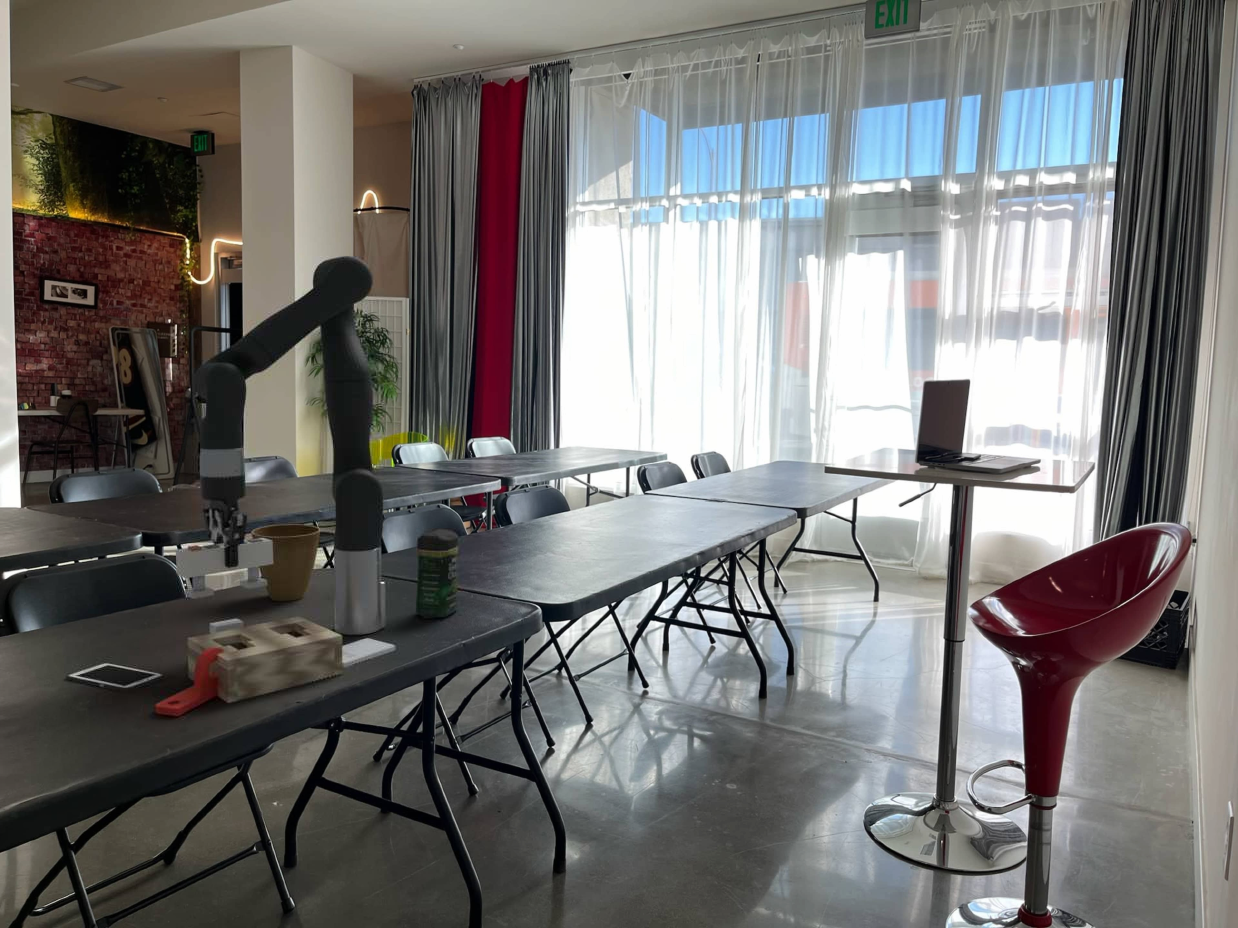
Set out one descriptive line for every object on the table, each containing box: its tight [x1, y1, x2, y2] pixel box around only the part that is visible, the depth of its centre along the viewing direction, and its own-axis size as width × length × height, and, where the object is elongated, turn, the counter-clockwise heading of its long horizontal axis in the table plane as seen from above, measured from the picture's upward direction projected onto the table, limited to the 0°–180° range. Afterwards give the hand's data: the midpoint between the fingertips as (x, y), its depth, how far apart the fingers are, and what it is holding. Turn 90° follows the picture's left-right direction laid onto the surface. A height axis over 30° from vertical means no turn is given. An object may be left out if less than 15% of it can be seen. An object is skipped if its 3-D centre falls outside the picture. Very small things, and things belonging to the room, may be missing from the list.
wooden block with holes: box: [187, 616, 343, 704], centre depth 153 cm, size 20×16×7 cm
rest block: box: [209, 618, 245, 634], centre depth 164 cm, size 5×3×6 cm, turn 137°
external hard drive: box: [342, 637, 396, 669], centre depth 166 cm, size 2×8×12 cm
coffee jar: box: [415, 528, 459, 619], centre depth 194 cm, size 10×8×19 cm
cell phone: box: [65, 662, 165, 693], centre depth 151 cm, size 8×15×1 cm, turn 69°
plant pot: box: [251, 523, 321, 602], centre depth 204 cm, size 15×15×16 cm
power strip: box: [175, 538, 273, 600], centre depth 163 cm, size 16×4×9 cm, turn 137°
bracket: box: [155, 647, 224, 717], centre depth 141 cm, size 12×4×8 cm, turn 167°
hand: (226, 564), depth 163 cm, fingers closed on power strip, 4 cm apart
